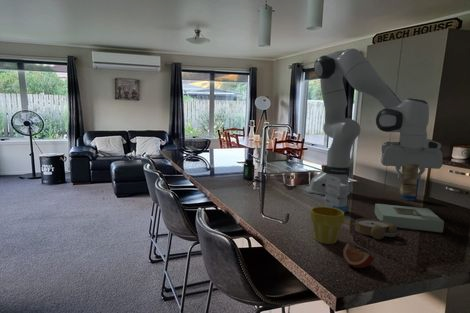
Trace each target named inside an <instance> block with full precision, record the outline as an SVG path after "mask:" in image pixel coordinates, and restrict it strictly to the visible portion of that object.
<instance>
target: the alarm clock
mask: <svg viewBox="0 0 470 313" xmlns="http://www.w3.org/2000/svg"><path fill="white" fill-rule="evenodd" d="M352 225H353V226H355V228H354V230H355V232H357V233H359V234H362V235H366V236H370V237H372V238H373V239H375V240H382V239H383V238H385V237H389V238H391V237H392V238H394V237H397V236H398V233H399V230H398V227H396V226H395V225H394V224H389V223H388V222H385V221H382V220H378V219H375V218H359V219H356V220H355V222H354V223H352Z"/></svg>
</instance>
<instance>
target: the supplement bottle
mask: <svg viewBox="0 0 470 313" xmlns="http://www.w3.org/2000/svg"><path fill="white" fill-rule="evenodd" d="M244 162H245V163H244V164H243V166H242V167H243V169H242V170H243V171H242V172H243V175H242V178H243V180H246V181H251V180H255V172H256V171H255V170H256V167H255V166H256V165H255V163H254V159H253V158H252V159H251V158H245V161H244Z"/></svg>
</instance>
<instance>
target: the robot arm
mask: <svg viewBox="0 0 470 313" xmlns="http://www.w3.org/2000/svg"><path fill="white" fill-rule="evenodd" d="M313 68H314V70H313V71H314V73H315V75H316V76H317V78H319V79H320V92H321V96H322V97H321V98H322V101H323V106H324V124H323V127H322V130H323V133H324V134H325V135H326V136H328V137H329V138H331V139H332V141H331V145H330V147H329V148H328V149H327V153H326V154H327V156H326V164H322V165H321V170H322V171H321V172H320V173H318V174H316V175H315V176H313V177H312V179H311V180H310V184H309V185H307V186H305V191H306V192H307V193H308V194H316V195H321V196H325V194H326V182H327V175H329V176H333V177H336V178H340V179H341V183H342V184H345V185H348V196H349V195H350V194H351V192H350V187H349V186H350V184H349V178H350V173H351V171H350V170H351V169H350V168H351V167H350V159H351V151H352V148H353V146H354V142H355V140H356V139H357V138H358V137H359V136H360V133H361V125H360V123H359V122H358V121H356V120H354V119H352V118H350V117H346V109H347V106H348V98H347V95H346V89H345V85H344V80H343V79H344V77H345V79H346V81H347V82H348V84H349V85H350V86H351V87H352V88H353V89H354V90H355V91H357V92H360V93H363V94H366V95H369V96H371V97H373V98H375V99H376V100H377V101H378V102H379V103H380V104H381V105H382V107H383V109H381V110H379V112H378V113H377V115H376V117H375V125H376V127H377V128H378V129H379V130H380V131H381V132H385V133H399V141H386V142H384V143H383V144H382V145H381V153H382V154H381V159H380V163H381V165H383V166H385V167H394V168H395V169H394V170H396V172H397V178H398V179H401V178H403V173H401V171H400V170H402V167H405V164H417V165H419V167H418V177H417V179H418V180H419V181H420V180H421V177H422V175H423V174H424V172H426V169H433V170H436V169H438V170H439V169H441V168H442V167H443V153H442V151H441V147H442V143H440V142H437V141H435V140H432V139H428V138H427V137H428V132H427V131H428V130H427V129H428V125H429V121H430V120H429V118H430V107H429V103H428V102H427V101H426V100H425V99H424V100H423V99H417V98H410V97H409V98H406V99H404V100H403V101H401V100H400V98H398V96H397V95H396V94H395V92H394V91H393V90H392V88H390V87H389V85H388V84H387V83H386V82H385V81H384V80H383V78H382V77H381V76H380V75H379V74H378V72H377V70H376V69H375V68H374V67H373V65H372V63H370V61H369V60H368V59H367V57H366V56H365V55H364V54H363V53H361V51H359V50H358V48H351V47H350V48H346V49H342V50H336V51H334V52H331V53H328V54H325V55H322V56H319V57H318V58H316V60H315V62H314V66H313ZM331 180H332V181H336V180H334V179H331Z"/></svg>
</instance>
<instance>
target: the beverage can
mask: <svg viewBox="0 0 470 313" xmlns="http://www.w3.org/2000/svg"><path fill="white" fill-rule="evenodd" d="M419 181H420V180H418V179H417V187H416V196H406V195H402V194H401V198H402V199H404V200H405V201H409V202H410V201H412V202H413V201H416V200H417V198H418V188H419Z"/></svg>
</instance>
